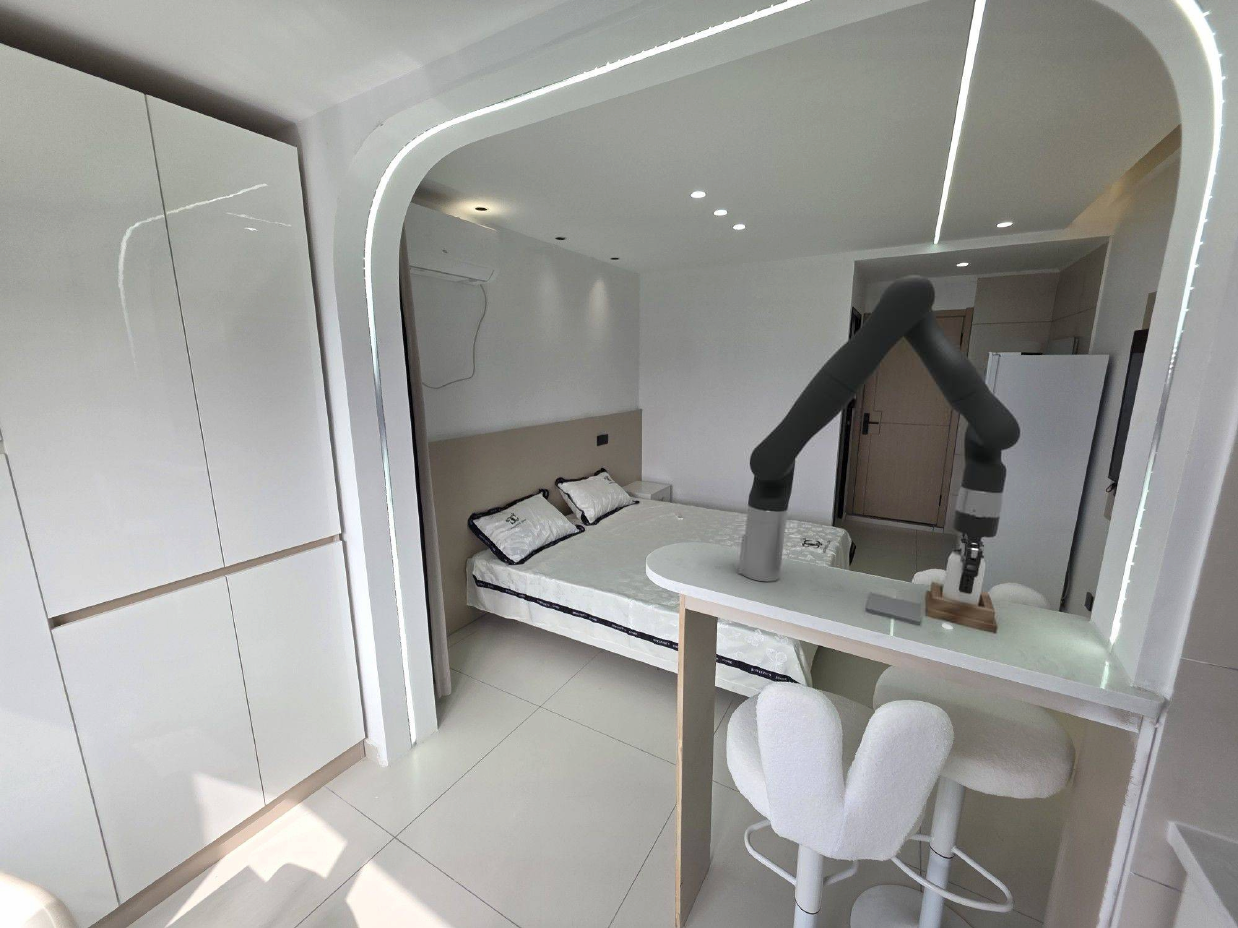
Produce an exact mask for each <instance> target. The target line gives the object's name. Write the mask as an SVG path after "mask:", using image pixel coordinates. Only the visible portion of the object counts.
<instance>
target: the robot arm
mask: <svg viewBox="0 0 1238 928" xmlns="http://www.w3.org/2000/svg"><path fill="white" fill-rule="evenodd" d="M935 299H936V290H935V287H934V284H933V283H932V282H931V280H930V279H929V278H927V277H925V276H922V275H919V274H911V275H909V274H908V275H905V276H902V277H899V278H897V279H895V280H894V281H892V282H891V283H889V285H888V286H887V287H885V289H884V290H883V292H882V293H881V296H880V298H879V301H878V303H877V304H876V306H875V307H874V309H873V310H872V311H871V313H870V315H869V316H868V317H867V319H866V320H865V321H864V323H863V324H862V326H861V327H860V328H859V329H857V331H856V332H855V334H853V336H851V338H850V339H848V340H847V341H846V342H845V343H844V344H843V345H842V346H840V348H839V349H838V350H837V351H835V353H833V355H831V357H830V358H829V359H828V360H827V361H826V362H825V363H824V364H823V365H822V367H821V368H820V369H819V370H818V371H817V373H816V374H815V375H814V377H812V379H811V380H810V381H809V383H808V384H807V386H805V388H804V389H803V391H802V392H801V393H800V394H799V396H798V397H797V399H796V401H795V402H794V403H793V404H792V406H791V407H790V409H789V410H788V412H787V414H786V415H785V417H784V418H783V419H782V420H781V422H779V423H778V425H777V426H776V427H775V428H774V429H773V430H772V431H771V432H770V433H769V434H767V436H766V437H765V438H764V439H763V440H762V441H761V442H760V443H758V444H757V446H755V447H754V448H753V450H752V452H751V454H750V456H749V468H750V471H751V473H752V475H753V482H752V486H751V488H750V489H751V490H750V491H749V495H748V501H747V511H746V520H745V527H744V528H745V530H744V534H743V535H742V536H741V544H740V554H739V564H738V574H740V575H743V576H745V577H746V578H748V579H751V580H755V581H759V582H775V581H778V580H779V579H780V576H781V571H782V570H781V569H782V562H783V552H784V544H785V543H784V542H785V536H786V528H787V526H786V525H787V519H788V518H787V517H788V511H789V509H788V508H789V503H790V498H791V494H792V491H793V482H794V476H795V469H796V468H795V467H796V458H797V457H798V456H799V455H800V453H801V452H802V450H803V449H804V447H805V446H806V445H807V444H808V443H809V441H810V440H811V439H813V437H814V436H815V435H816V434H818V433H819V432H820V431H821V430H823V429H824V428H825V427H826V426H827V425H828V424H830V423H831V422H832V421H833V420H834V419H835V418H836V417H837V416H838V415H839V414H840V413H841V412H842V411H844V409H845V408H846V407H847V406H848V405H849V403H850V402H851V401H852V400H853V399H854V398H855V397H856V395H857V394H858V393H859V392H860V390H861V389H862V388H863V387H864V385H865V384H866V383H867V381H868V380H869V379H870V377H871V376H872V375H873V374H874V373H875V371H876V370H877V368H878V367H879V366H880V364H881V363H882V361H883V360H884V358H885V357H886V355H887V354H888V353H889V352H890V350H891V349H892V348H893V347H894V346H895V345H896V344H897V343H898V342H900V340H901V339H902V338H904V340H906V342H908V344H909V345H910V346H911V348H912V349H913V350H914V351H915V353H916V355H917V356H918V358H919V359H920V361H921V362H922V363H923V365H924V367H925V368H926V370H927V372H928V373H929V375H930V377H931V378H932V379H933V381H934V384H935V385H936V386H937V388H938V389H939V391H940V392H941V394H942V395H943V397H944V398H945V400H946V402H947V403H948V404H949V406H951V408H952V409H953V410H954V411H955V412H957V413H959V415H961V416H962V417H963V418H964V419H965V420H966V422H967V425H966V428H965V432H964V439H963V441H964V443H963V445H964V447H963V451H964V468H963V474H962V480H961V485H960V489H959V493H958V495H957V500H956V506H955V511H954V516H953V520H952V521H953V522H952V528H953V530H954V531H956V532H958V533H961V537H960V538H959V541H958V543H959V544H958V546H959V547H958V549H959V551H961V557H960V562H961V563H962V564H963V565H962V570H961V579H960V585H959V591H960V592H963V593H967V594H971V593H972V589H973V583H974V578H975V577H977V575H978V571H979V566H980V564H981V556H982V555H983V554H984V550H985V544H984V541H982V539H983V538H994V537H996V535H998V534H997V533H998V528H999V523H1000V519H1001V513H1002V507H1003V494H1004V493H1003V492H1004V488H1005V483H1006V477H1007V468H1006V466H1005V464H1004V463H1003V462H1002V454H1003V453H1002V451H1005V450H1006V451H1007V450H1009V449H1011V448H1012V447H1014V446H1015V445H1016V444H1017V443H1018V441H1019V439H1020V437H1021V429H1020V428H1021V427H1020V424H1019V422H1018V420H1017V419H1016V418H1015V416H1014V415H1013V414H1012V412H1011V411H1010V410H1009V409H1008V407H1006V406H1005V404H1004V403H1002V401H1000V399H999V398H998V397H996V395H994V394H993V393H992V391H991V390H990V389H989V386H988V385H987V383H986V382H985V380H984V378H983V377H982V376H981V374H980V372H979V371H978V370H977V368H976V367H975V366H974V364H973V363H972V361H971V360H969V358H968V357H967V356H966V355H965V353H964V352H963V351H962V350H961V349H960V348H959V347H958V346H957V344H955V342H953V340H952V339H951V338H950V337H949V335H948V333H946V332H945V330H944V328H943V327H942V326H941V324H940V323H939V321H938V319H937V318H936V315H935V313H934V310H933V306H934V303H935ZM964 556H965V558H964ZM967 565H973V566H974V569H973V570H970V569H967Z"/></svg>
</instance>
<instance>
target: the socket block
mask: <svg viewBox="0 0 1238 928" xmlns="http://www.w3.org/2000/svg"><path fill="white" fill-rule="evenodd" d="M943 586H944V583H939V582H934V581H931V584H930V590H926V592H925V598H924V599H925V617H929V618H932V619H937V620H940V621H945V622H949V623H952V624H956V625H960V626H961V625H962V626H964V627H968V628H973V629H977V630H981V631H984V632H988V633H992V634H993V633H994V634H997V631H998V623H997V620H996V610H995V608H994V605H993V602H992V599H991V596H990V594H989V593H985V592H981V593H980V598H979V603H978V606H976V605H972V604H968V603H963V602H959V601H954V600H950V599H946V598H942V592H943Z"/></svg>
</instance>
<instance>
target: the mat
mask: <svg viewBox="0 0 1238 928" xmlns="http://www.w3.org/2000/svg"><path fill="white" fill-rule="evenodd" d="M865 612H866V613H870V614H873V615H877V616H881V617H885V618H889V619H892V620H897V621H900V622H903V623H909V624H912V625H916V626H919V627H921V624H922V622H921V621H922V604H920V603H918V602H917V603H916V602H913V601H910V600H905V599H900V598H896V597H891V596H888V595H885V594H884V595H883V594H881V593H880V594H879V593H876V592H872V591H870V592H869V595H868V599H867V603H866V607H865Z"/></svg>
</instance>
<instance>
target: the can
mask: <svg viewBox="0 0 1238 928" xmlns="http://www.w3.org/2000/svg"><path fill="white" fill-rule="evenodd" d="M960 557H961V551H959V548H953V549H952V551H951V553H950V554H949V556H948V560H947V565H946V570H945V576H944V581H943V584H944V586H943V592H942V598H946V599H950V600H954V601H959V602H963V603H968V604H972V605H976V606H978V603H979V598H980V593H982V587H983V582H984V576H985V571H986V561H985V557H986V556H985V555H983V554H982V556H981V564H980V566H979V571H978V575H977V577H975V578H974V583H973V589H972V593H971V594H967V593H963V592H960V591H959V585H960V579H961V570H962V565H963V564H962V563H961V562H960ZM964 558H965V556H964ZM967 569H970V570H973V569H974V566H973V565H967Z"/></svg>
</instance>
